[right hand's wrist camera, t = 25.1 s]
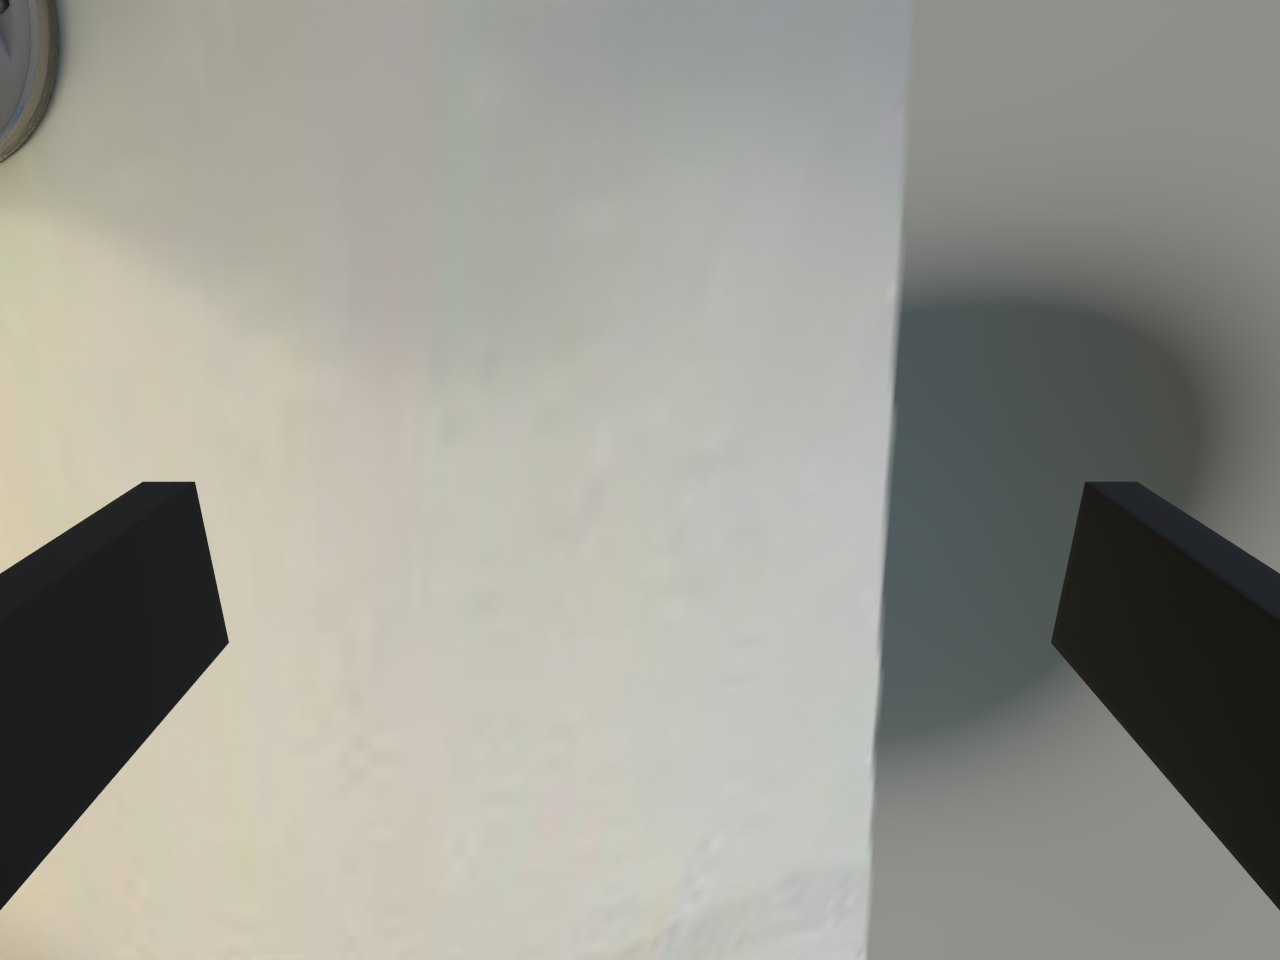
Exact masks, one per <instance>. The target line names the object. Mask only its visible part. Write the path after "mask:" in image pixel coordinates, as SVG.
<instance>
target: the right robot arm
mask: <svg viewBox="0 0 1280 960" xmlns="http://www.w3.org/2000/svg"><path fill="white" fill-rule="evenodd" d="M58 54H59V27H58V18H57V9H56V4H55V0H0V161H2V160H4V159H5V158H6V157H8V156H9V155H10V154H11V153H13V152H14V151H15V150H16V149H17V148H18V147H19V146H20V145H21V144H22V143H23V142H24V141H25V140H26V139H27V138H28V137H29V135H30V134H31V133H32V131H33V130H34V129H35V127H36V126H37V124H38V122H39V120H40V119H41V117H42V115H43V113H44V111H45V109H46V106H47V104H48V102H49V99H50V96H51V93H52V89H53V86H54V83H55V77H56V71H57V66H58ZM228 643H229V641H228V636H227V631H226V627H225V622H224V617H223V612H222V608H221V603H220V598H219V594H218V589H217V584H216V579H215V575H214V570H213V565H212V560H211V556H210V551H209V546H208V542H207V537H206V532H205V527H204V523H203V518H202V513H201V509H200V504H199V499H198V494H197V490H196V485H195V482H142V483H140V484H139V485H137V486H136V487H134V488H133V489H131V490H129V491H128V492H126V493H125V494H123V495H122V496H120V497H119V498H117V499H115V500H114V501H112V502H111V503H109V504H108V505H106V506H105V507H103V508H102V509H100V510H98V511H97V512H95V513H94V514H92V515H91V516H89V517H88V518H86V519H84V520H83V521H81V522H80V523H78V524H77V525H75V526H74V527H72V528H70V529H69V530H67V531H66V532H64V533H63V534H61V535H60V536H58V537H57V538H55V539H53V540H52V541H50V542H49V543H47V544H46V545H44V546H43V547H41V548H39V549H38V550H36V551H35V552H33V553H32V554H30V555H29V556H27V557H25V558H24V559H22V560H21V561H19V562H18V563H16V564H15V565H13V566H12V567H10V568H8V569H7V570H5V571H4V572H2V573H1V574H0V910H1V909H2V908H3V906H4V905H5V904H6V903H7V902H8V901H9V899H10V898H11V897H12V896H13V895H14V894H15V892H16V891H17V890H18V889H19V888H20V887H21V885H22V884H23V883H24V882H25V881H26V880H27V878H28V877H29V876H30V875H31V874H32V873H33V871H34V870H35V869H36V868H37V867H38V865H39V864H40V863H41V862H42V861H43V860H44V858H45V857H46V856H47V855H48V854H49V853H50V851H51V850H52V849H53V848H54V847H55V846H56V844H57V843H58V842H59V841H60V840H61V839H62V837H63V836H64V835H65V834H66V833H67V832H68V830H69V829H70V828H71V827H72V826H73V825H74V823H75V822H76V821H77V820H78V819H79V818H80V816H81V815H82V814H83V813H84V812H85V810H86V809H87V808H88V807H89V806H90V805H91V803H92V802H93V801H94V800H95V799H96V798H97V796H98V795H99V794H100V793H101V792H102V791H103V789H104V788H105V787H106V786H107V785H108V784H109V782H110V781H111V780H112V779H113V778H114V777H115V775H116V774H117V773H118V772H119V771H120V770H121V768H122V767H123V766H124V765H125V764H126V763H127V761H128V760H129V759H130V758H131V757H132V755H133V754H134V753H135V752H136V751H137V750H138V748H139V747H140V746H141V745H142V744H143V743H144V741H145V740H146V739H147V738H148V737H149V736H150V734H151V733H152V732H153V731H154V730H155V729H156V727H157V726H158V725H159V724H160V723H161V722H162V720H163V719H164V718H165V717H166V716H167V715H168V713H169V712H170V711H171V710H172V709H173V707H174V706H175V705H176V704H177V703H178V702H179V700H180V699H181V698H182V697H183V696H184V695H185V693H186V692H187V691H188V690H189V689H190V688H191V686H192V685H193V684H194V683H195V682H196V681H197V679H198V678H199V677H200V676H201V675H202V674H203V672H204V671H205V670H206V669H207V668H208V667H209V665H210V664H211V663H212V662H213V661H214V660H215V658H216V657H217V656H218V655H219V654H220V652H221V651H222V650H223V649H224V648H225V647H226V645H227V644H228ZM1051 643H1052V644H1053V645H1054V647H1055V648H1056V649H1057V650H1058V651H1059V652H1060V654H1061V655H1062V656H1063V657H1064V658H1065V659H1066V661H1067V662H1068V663H1069V664H1070V665H1071V667H1072V668H1073V669H1074V670H1075V671H1076V672H1077V674H1078V675H1079V676H1080V677H1081V678H1082V679H1083V681H1084V682H1085V683H1086V684H1087V685H1088V686H1089V687H1090V689H1091V690H1092V691H1093V692H1094V693H1095V695H1096V696H1097V697H1098V698H1099V699H1100V700H1101V702H1102V703H1103V704H1104V705H1105V706H1106V707H1107V709H1108V710H1109V711H1110V712H1111V713H1112V714H1113V716H1114V717H1115V718H1116V719H1117V720H1118V722H1119V723H1120V724H1121V725H1122V726H1123V727H1124V729H1125V730H1126V731H1127V732H1128V733H1129V734H1130V736H1131V737H1132V738H1133V739H1134V740H1135V741H1136V743H1137V744H1138V745H1139V746H1140V747H1141V748H1142V750H1143V751H1144V752H1145V753H1146V754H1147V755H1148V757H1149V758H1150V759H1151V760H1152V761H1153V763H1154V764H1155V765H1156V766H1157V767H1158V768H1159V770H1160V771H1161V772H1162V773H1163V774H1164V775H1165V777H1166V778H1167V779H1168V780H1169V781H1170V782H1171V784H1172V785H1173V786H1174V787H1175V788H1176V789H1177V791H1178V792H1179V793H1180V794H1181V795H1182V796H1183V798H1184V799H1185V800H1186V801H1187V802H1188V803H1189V805H1190V806H1191V807H1192V808H1193V809H1194V810H1195V812H1196V813H1197V814H1198V815H1199V816H1200V818H1201V819H1202V820H1203V821H1204V822H1205V823H1206V824H1207V826H1208V827H1209V828H1210V829H1211V830H1212V832H1213V833H1214V834H1215V835H1216V836H1217V837H1218V839H1219V840H1220V841H1221V842H1222V843H1223V844H1224V846H1225V847H1226V848H1227V849H1228V850H1229V851H1230V853H1231V854H1232V855H1233V856H1234V857H1235V858H1236V860H1237V861H1238V862H1239V863H1240V864H1241V865H1242V867H1243V868H1244V869H1245V870H1246V871H1247V873H1248V874H1249V875H1250V876H1251V877H1252V878H1253V880H1254V881H1255V882H1256V883H1257V884H1258V885H1259V887H1260V888H1261V889H1262V890H1263V891H1264V892H1265V894H1266V895H1267V896H1268V897H1269V898H1270V899H1271V901H1272V902H1273V903H1274V904H1275V905H1276V906H1277V908H1278V909H1279V910H1280V574H1279V573H1278V572H1276V571H1275V570H1273V569H1272V568H1270V567H1268V566H1267V565H1265V564H1264V563H1262V562H1261V561H1259V560H1258V559H1256V558H1255V557H1253V556H1251V555H1250V554H1248V553H1247V552H1245V551H1244V550H1242V549H1241V548H1239V547H1237V546H1236V545H1234V544H1233V543H1231V542H1230V541H1228V540H1227V539H1225V538H1223V537H1222V536H1220V535H1219V534H1217V533H1216V532H1214V531H1213V530H1211V529H1209V528H1208V527H1206V526H1205V525H1203V524H1202V523H1200V522H1199V521H1197V520H1195V519H1194V518H1192V517H1191V516H1189V515H1188V514H1186V513H1185V512H1183V511H1182V510H1180V509H1178V508H1177V507H1175V506H1174V505H1172V504H1171V503H1169V502H1168V501H1166V500H1165V499H1163V498H1161V497H1160V496H1158V495H1157V494H1155V493H1154V492H1152V491H1151V490H1149V489H1147V488H1146V487H1144V486H1143V485H1141V484H1140V483H1138V482H1085V485H1084V490H1083V494H1082V499H1081V504H1080V509H1079V513H1078V518H1077V523H1076V528H1075V532H1074V537H1073V542H1072V546H1071V551H1070V556H1069V560H1068V565H1067V570H1066V575H1065V580H1064V584H1063V589H1062V594H1061V599H1060V603H1059V608H1058V612H1057V617H1056V622H1055V627H1054V632H1053V636H1052V641H1051Z"/></svg>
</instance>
